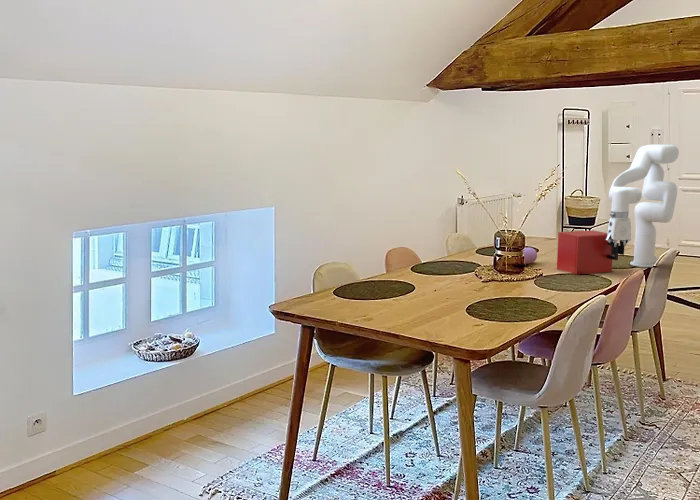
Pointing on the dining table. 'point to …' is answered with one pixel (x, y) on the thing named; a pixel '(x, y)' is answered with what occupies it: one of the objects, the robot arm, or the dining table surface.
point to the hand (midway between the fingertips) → (617, 254)
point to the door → (594, 254)
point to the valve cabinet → (570, 248)
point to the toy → (529, 255)
